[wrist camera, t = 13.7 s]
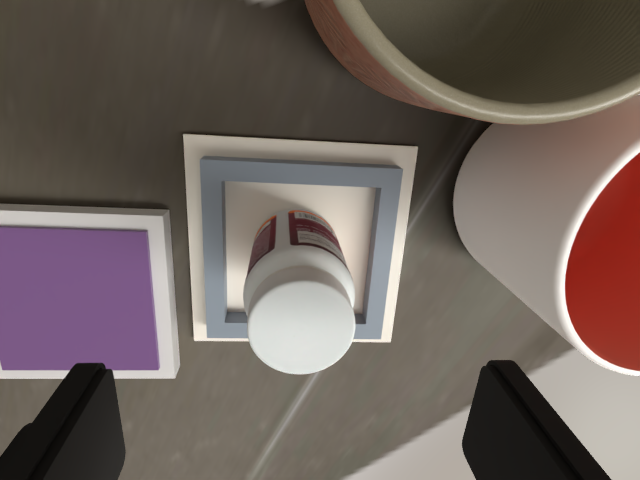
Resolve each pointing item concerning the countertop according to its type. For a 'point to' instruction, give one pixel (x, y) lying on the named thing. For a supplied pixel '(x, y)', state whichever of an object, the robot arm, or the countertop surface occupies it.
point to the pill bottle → (298, 294)
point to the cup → (563, 225)
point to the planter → (489, 54)
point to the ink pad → (86, 291)
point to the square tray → (294, 193)
